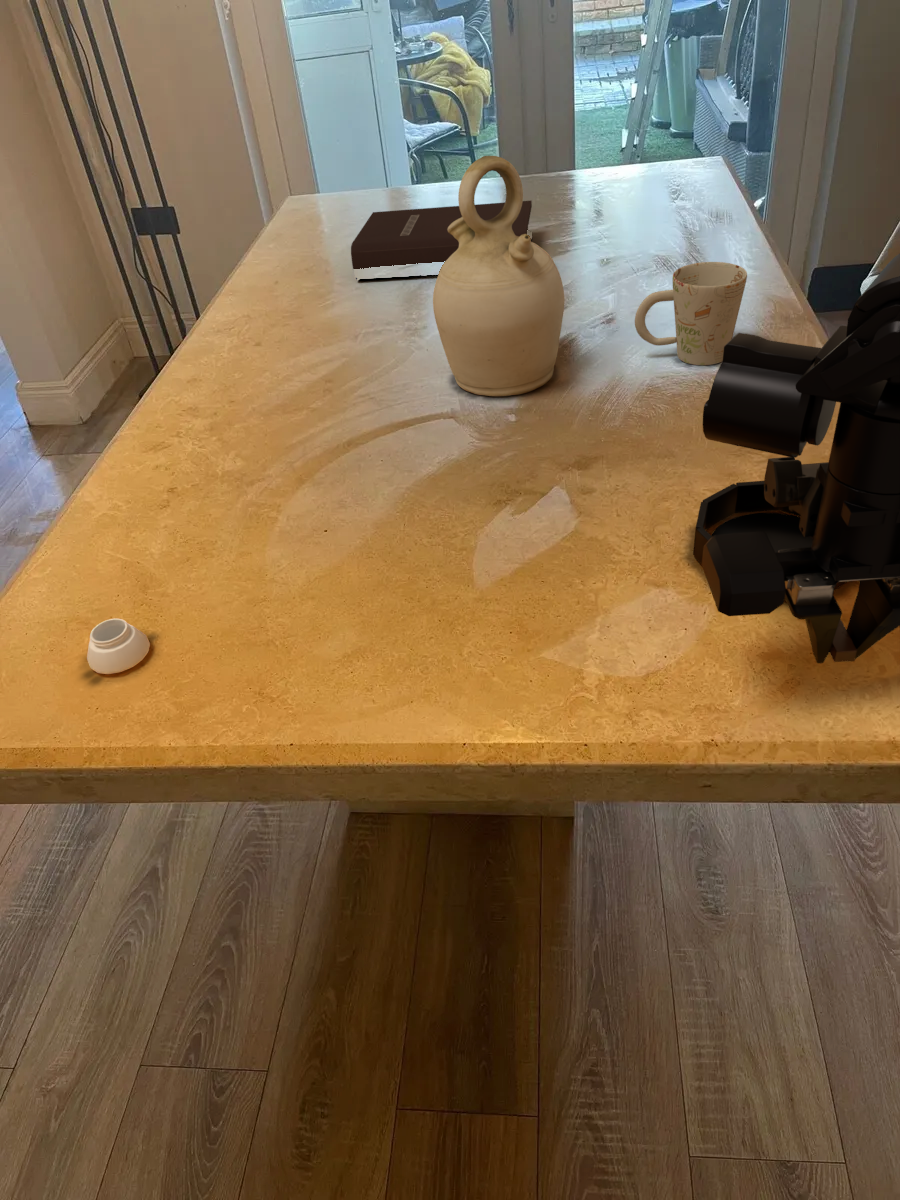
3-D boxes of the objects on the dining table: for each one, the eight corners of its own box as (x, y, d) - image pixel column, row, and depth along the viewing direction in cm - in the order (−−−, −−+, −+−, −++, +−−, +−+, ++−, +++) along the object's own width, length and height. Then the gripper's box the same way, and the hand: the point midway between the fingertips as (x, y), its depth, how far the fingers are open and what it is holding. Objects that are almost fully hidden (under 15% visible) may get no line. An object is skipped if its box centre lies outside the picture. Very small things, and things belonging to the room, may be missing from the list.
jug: (430, 365, 111) (403, 155, 95) (542, 342, 113) (534, 132, 97) (459, 414, 99) (434, 184, 84) (584, 388, 101) (583, 158, 85)
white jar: (142, 628, 74) (85, 652, 72) (131, 602, 72) (72, 626, 70) (157, 660, 70) (97, 686, 69) (146, 634, 69) (84, 659, 67)
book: (355, 284, 139) (349, 247, 135) (378, 246, 154) (372, 212, 150) (526, 274, 134) (525, 235, 131) (532, 236, 149) (531, 200, 145)
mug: (745, 366, 101) (755, 282, 95) (638, 375, 102) (642, 293, 96) (729, 339, 108) (737, 258, 101) (629, 348, 109) (631, 268, 102)
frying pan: (678, 517, 79) (681, 484, 77) (831, 505, 78) (838, 472, 75) (739, 693, 61) (744, 657, 59) (937, 681, 60) (951, 645, 58)
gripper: (977, 397, 57) (921, 580, 66) (694, 420, 58) (679, 596, 68) (1069, 484, 48) (988, 680, 58) (733, 509, 50) (709, 696, 59)
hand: (832, 658), depth 61 cm, fingers closed
